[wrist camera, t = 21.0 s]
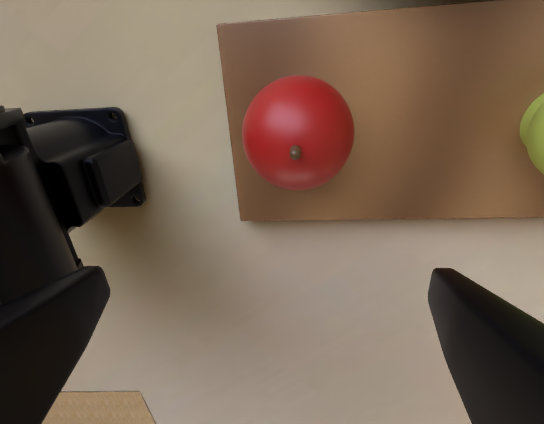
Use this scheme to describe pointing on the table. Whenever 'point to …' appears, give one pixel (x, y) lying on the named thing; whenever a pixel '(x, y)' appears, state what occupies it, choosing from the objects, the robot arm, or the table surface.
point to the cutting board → (402, 108)
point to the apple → (298, 132)
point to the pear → (534, 132)
